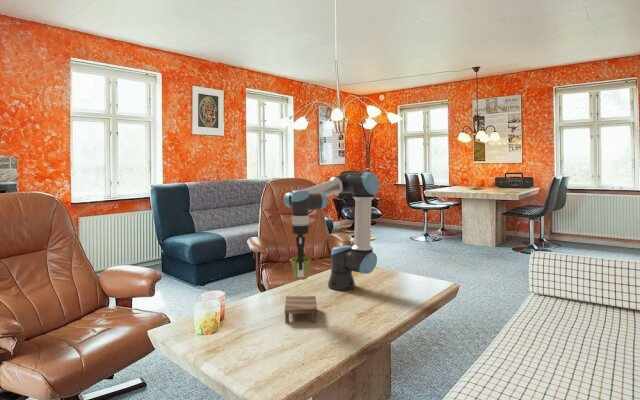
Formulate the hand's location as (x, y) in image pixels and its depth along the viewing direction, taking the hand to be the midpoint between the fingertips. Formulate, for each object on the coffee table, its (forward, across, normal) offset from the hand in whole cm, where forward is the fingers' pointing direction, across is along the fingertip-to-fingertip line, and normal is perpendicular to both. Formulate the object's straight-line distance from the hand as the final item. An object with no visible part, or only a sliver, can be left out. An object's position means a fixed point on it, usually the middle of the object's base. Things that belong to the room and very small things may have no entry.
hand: (300, 273), depth 181 cm
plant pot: (+2, 0, 0) cm, 2 cm away
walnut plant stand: (+19, 0, 0) cm, 19 cm away
